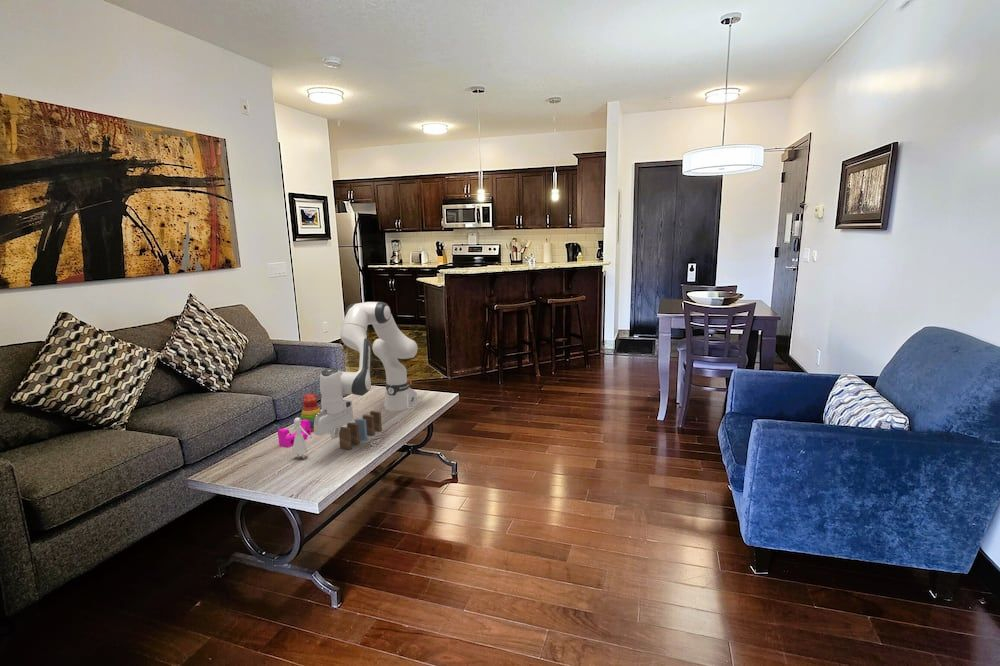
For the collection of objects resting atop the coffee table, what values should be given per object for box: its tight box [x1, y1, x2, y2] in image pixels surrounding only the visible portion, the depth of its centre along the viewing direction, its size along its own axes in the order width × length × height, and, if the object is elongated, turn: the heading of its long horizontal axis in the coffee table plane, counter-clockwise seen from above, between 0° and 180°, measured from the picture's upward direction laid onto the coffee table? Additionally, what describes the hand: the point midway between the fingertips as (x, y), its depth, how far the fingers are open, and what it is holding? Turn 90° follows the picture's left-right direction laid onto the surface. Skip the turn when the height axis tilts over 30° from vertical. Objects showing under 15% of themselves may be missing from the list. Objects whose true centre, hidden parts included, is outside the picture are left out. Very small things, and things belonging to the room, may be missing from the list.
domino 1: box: [338, 426, 353, 451], centre depth 208 cm, size 2×5×10 cm, turn 68°
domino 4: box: [362, 414, 376, 437], centre depth 223 cm, size 2×5×10 cm, turn 68°
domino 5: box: [369, 410, 383, 433], centre depth 228 cm, size 2×5×10 cm, turn 68°
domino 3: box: [354, 418, 368, 441], centre depth 218 cm, size 2×5×10 cm, turn 68°
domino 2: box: [346, 421, 361, 446], centre depth 213 cm, size 2×5×10 cm, turn 68°
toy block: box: [277, 419, 312, 448], centre depth 219 cm, size 15×6×8 cm, turn 155°
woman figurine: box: [286, 417, 312, 459], centre depth 199 cm, size 12×4×18 cm, turn 79°
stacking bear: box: [300, 393, 322, 433], centre depth 232 cm, size 11×10×18 cm
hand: (335, 437), depth 202 cm, fingers closed
